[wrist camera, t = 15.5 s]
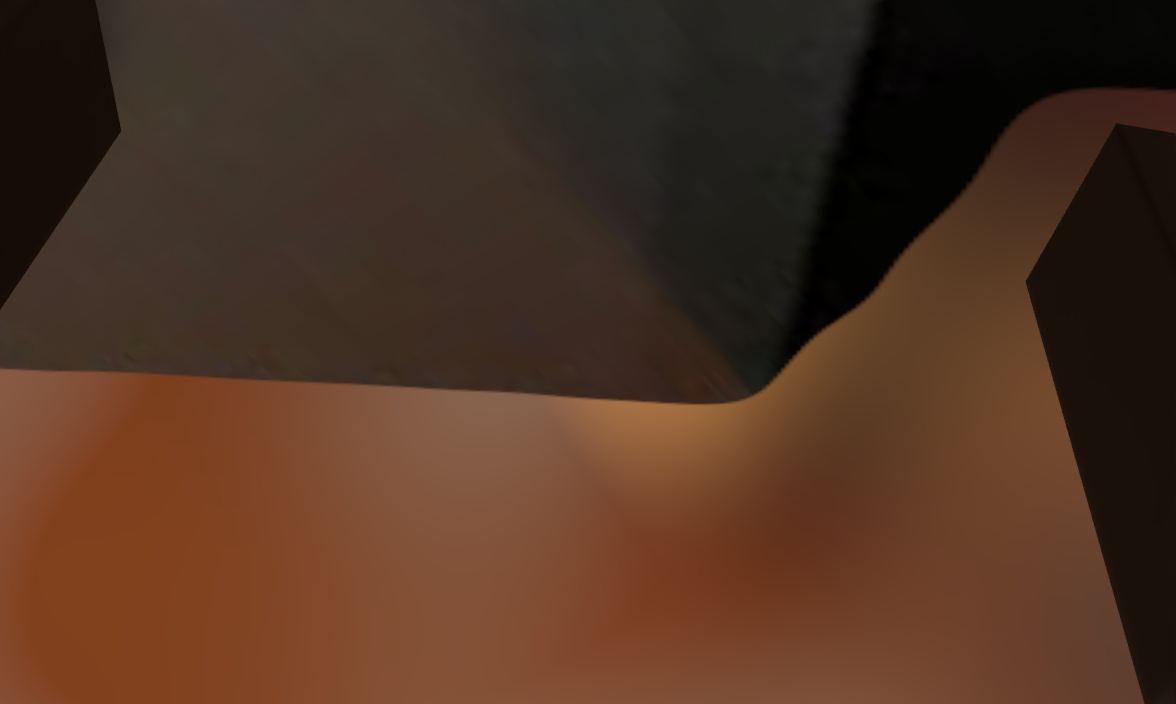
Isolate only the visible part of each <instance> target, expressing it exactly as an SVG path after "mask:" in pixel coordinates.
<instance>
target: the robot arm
mask: <svg viewBox="0 0 1176 704" xmlns="http://www.w3.org/2000/svg"><path fill="white" fill-rule="evenodd" d="M120 132H121V127H120V122H119V117H118V112H117V107H116V102H115V97H114V92H113V87H112V82H111V77H110V72H109V67H108V62H107V57H106V52H105V47H104V42H103V37H102V32H101V27H100V22H99V17H98V12H97V7H96V2H95V0H0V309H1V308H2V306H3V305H4V303H5V302H6V300H7V299H8V297H9V296H10V294H11V293H12V291H13V290H14V288H15V287H16V286H17V284H18V283H19V281H20V280H21V278H22V277H23V275H24V274H25V272H26V271H27V269H28V268H29V266H30V265H31V263H32V262H33V260H34V259H35V257H36V256H37V255H38V253H39V252H40V250H41V249H42V247H43V246H44V244H45V243H46V241H47V240H48V238H49V237H50V235H51V234H52V232H53V231H54V229H55V228H56V226H57V225H58V224H59V222H60V221H61V219H62V218H63V216H64V215H65V213H66V212H67V210H68V209H69V207H70V206H71V204H72V203H73V201H74V200H75V198H76V197H77V196H78V194H79V193H80V191H81V190H82V188H83V187H84V185H85V184H86V182H87V181H88V179H89V178H90V176H91V175H92V173H93V172H94V170H95V169H96V167H97V166H98V165H99V163H100V162H101V160H102V159H103V157H104V156H105V154H106V153H107V151H108V150H109V148H110V147H111V145H112V144H113V142H114V141H115V139H116V138H117V136H118V135H119V134H120ZM1026 285H1027V288H1028V292H1029V295H1030V299H1031V303H1032V306H1033V310H1034V313H1035V317H1036V320H1037V324H1038V327H1039V331H1040V334H1041V338H1042V342H1043V345H1044V348H1045V352H1046V356H1047V359H1048V362H1049V366H1050V370H1051V373H1052V377H1053V381H1054V384H1055V388H1056V391H1057V395H1058V398H1059V402H1060V405H1061V408H1062V413H1063V416H1064V419H1065V423H1066V427H1067V430H1068V434H1069V437H1070V441H1071V444H1072V448H1073V452H1074V455H1075V459H1076V462H1077V466H1078V469H1079V473H1080V476H1081V480H1082V483H1083V487H1084V491H1085V494H1086V497H1087V501H1088V505H1089V508H1090V511H1091V515H1092V519H1093V522H1094V526H1095V529H1096V533H1097V537H1098V540H1099V544H1100V547H1101V551H1102V554H1103V558H1104V562H1105V565H1106V569H1107V572H1108V575H1109V579H1110V583H1111V586H1112V590H1113V593H1114V597H1115V600H1116V604H1117V608H1118V611H1119V614H1120V618H1121V622H1122V625H1123V629H1124V632H1125V636H1126V639H1127V643H1128V647H1129V650H1130V654H1131V657H1132V661H1133V664H1134V667H1135V671H1136V675H1137V679H1138V682H1139V686H1140V689H1141V693H1142V696H1143V700H1144V703H1145V704H1176V135H1175V134H1174V133H1169V132H1164V131H1158V130H1152V129H1146V128H1140V127H1135V126H1129V125H1123V124H1117V123H1116V125H1115V127H1114V129H1113V130H1112V132H1111V134H1110V136H1109V138H1108V139H1107V141H1106V143H1105V144H1104V146H1103V148H1102V149H1101V151H1100V153H1099V155H1098V157H1097V158H1096V160H1095V162H1094V163H1093V165H1092V167H1091V169H1090V170H1089V172H1088V174H1087V176H1086V177H1085V179H1084V181H1083V183H1082V184H1081V186H1080V188H1079V190H1078V191H1077V193H1076V195H1075V197H1074V198H1073V200H1072V202H1071V203H1070V205H1069V207H1068V209H1067V210H1066V212H1065V214H1064V216H1063V217H1062V219H1061V221H1060V223H1059V224H1058V226H1057V228H1056V230H1055V231H1054V233H1053V235H1052V237H1051V238H1050V240H1049V242H1048V244H1047V245H1046V247H1045V249H1044V251H1043V252H1042V254H1041V256H1040V258H1039V259H1038V261H1037V263H1036V264H1035V266H1034V268H1033V270H1032V271H1031V273H1030V275H1029V277H1028V279H1027V280H1026Z"/></svg>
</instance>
